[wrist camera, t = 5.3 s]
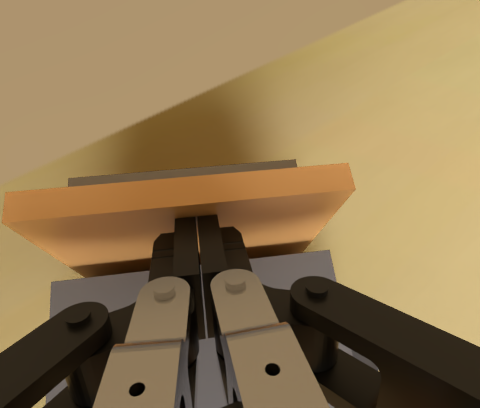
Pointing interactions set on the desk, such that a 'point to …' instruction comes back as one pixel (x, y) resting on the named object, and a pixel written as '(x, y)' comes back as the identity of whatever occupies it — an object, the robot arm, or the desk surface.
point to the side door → (177, 211)
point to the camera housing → (267, 269)
